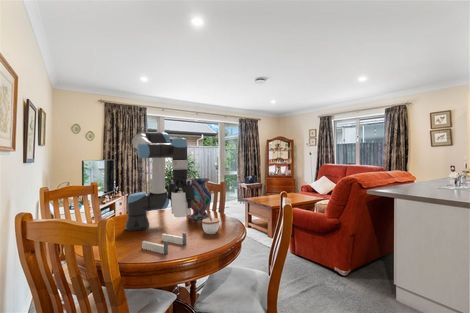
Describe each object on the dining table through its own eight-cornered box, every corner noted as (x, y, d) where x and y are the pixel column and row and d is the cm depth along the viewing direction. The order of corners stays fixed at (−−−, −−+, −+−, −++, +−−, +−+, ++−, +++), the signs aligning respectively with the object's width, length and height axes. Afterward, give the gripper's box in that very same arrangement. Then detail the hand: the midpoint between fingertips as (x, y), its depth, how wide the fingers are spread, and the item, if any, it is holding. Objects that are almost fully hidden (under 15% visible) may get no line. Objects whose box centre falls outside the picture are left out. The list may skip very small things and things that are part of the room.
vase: (184, 220, 180) (183, 180, 180) (192, 214, 198) (191, 178, 198) (207, 220, 177) (207, 180, 177) (214, 214, 195) (213, 177, 195)
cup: (173, 214, 124) (173, 190, 124) (191, 213, 125) (190, 190, 125) (170, 218, 115) (169, 193, 115) (189, 217, 116) (188, 192, 116)
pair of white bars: (141, 248, 123) (141, 237, 123) (164, 239, 137) (163, 229, 137) (165, 254, 115) (165, 242, 115) (187, 244, 129) (187, 233, 129)
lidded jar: (217, 235, 142) (216, 220, 142) (199, 235, 144) (199, 219, 144) (221, 230, 152) (221, 215, 152) (205, 229, 154) (205, 215, 154)
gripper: (159, 169, 122) (160, 213, 122) (191, 169, 112) (192, 217, 111) (169, 168, 129) (170, 210, 129) (201, 168, 118) (202, 214, 118)
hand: (181, 214), depth 120 cm, fingers closed on cup, 9 cm apart
